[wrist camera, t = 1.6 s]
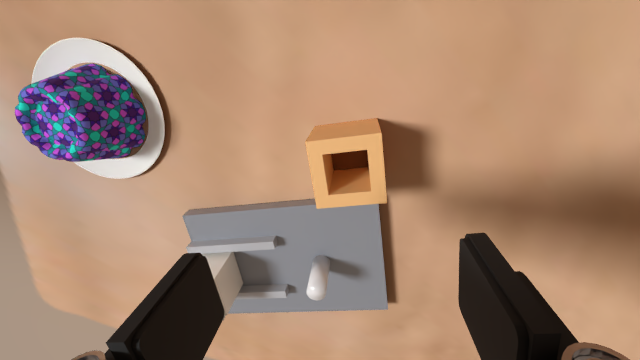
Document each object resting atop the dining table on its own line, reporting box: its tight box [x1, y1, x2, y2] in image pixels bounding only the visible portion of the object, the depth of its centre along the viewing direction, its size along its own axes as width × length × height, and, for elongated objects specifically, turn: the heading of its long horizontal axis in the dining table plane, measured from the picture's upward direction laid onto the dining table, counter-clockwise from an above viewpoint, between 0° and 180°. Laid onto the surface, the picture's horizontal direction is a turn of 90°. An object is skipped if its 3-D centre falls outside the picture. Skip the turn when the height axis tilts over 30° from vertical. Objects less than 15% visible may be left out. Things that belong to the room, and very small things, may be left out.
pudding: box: [15, 38, 165, 179], centre depth 24 cm, size 12×12×5 cm
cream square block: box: [202, 252, 243, 320], centre depth 27 cm, size 4×4×5 cm
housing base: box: [183, 199, 388, 314], centre depth 27 cm, size 18×12×5 cm, turn 99°
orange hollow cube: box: [305, 118, 387, 209], centre depth 23 cm, size 5×5×5 cm
